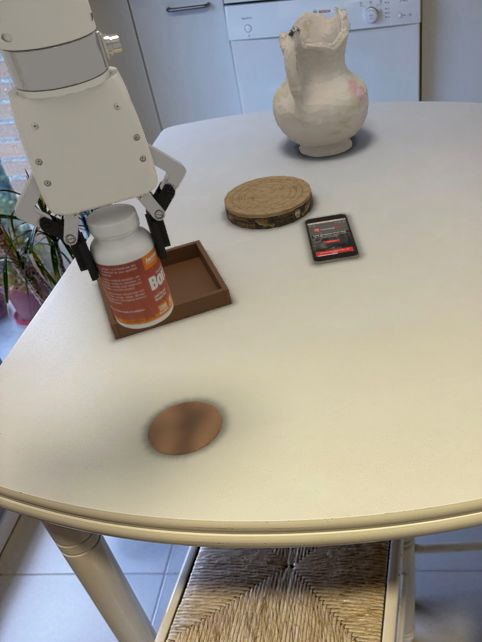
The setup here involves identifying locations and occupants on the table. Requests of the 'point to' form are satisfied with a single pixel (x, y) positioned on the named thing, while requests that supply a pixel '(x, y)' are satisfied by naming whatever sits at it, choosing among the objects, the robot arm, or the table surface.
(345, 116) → the ceramic pitcher
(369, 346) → the table surface
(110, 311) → the tray
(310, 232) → the smartphone
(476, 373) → the table surface
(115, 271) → the pill bottle
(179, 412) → the coaster
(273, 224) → the wood log slice
